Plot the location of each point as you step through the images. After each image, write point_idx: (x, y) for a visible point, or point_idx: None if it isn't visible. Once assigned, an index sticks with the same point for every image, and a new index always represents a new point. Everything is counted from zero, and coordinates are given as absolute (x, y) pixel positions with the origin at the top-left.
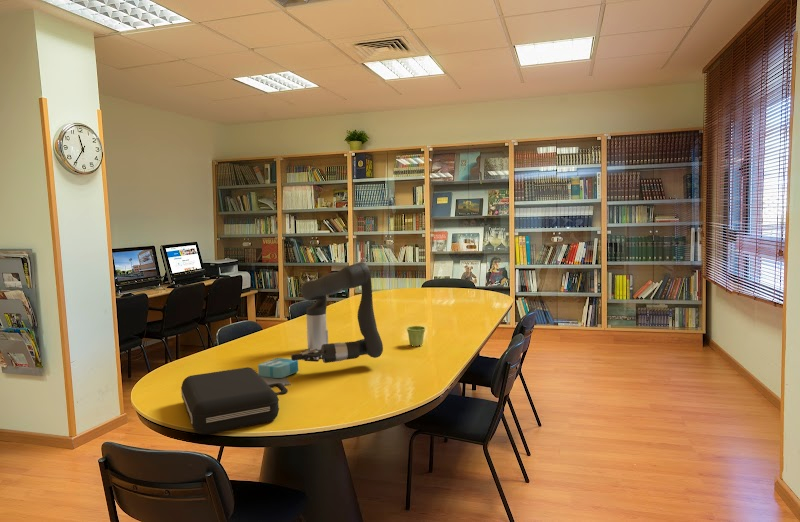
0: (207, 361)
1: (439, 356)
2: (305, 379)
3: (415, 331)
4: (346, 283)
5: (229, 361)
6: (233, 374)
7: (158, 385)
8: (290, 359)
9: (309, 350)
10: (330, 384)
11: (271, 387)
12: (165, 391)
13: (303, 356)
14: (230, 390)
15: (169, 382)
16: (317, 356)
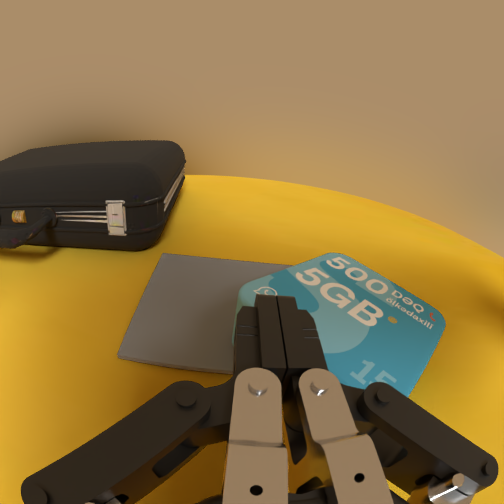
0: (456, 247)
1: None
2: None
3: None
4: None
5: (468, 270)
6: (102, 153)
7: (309, 192)
8: (415, 366)
9: (366, 478)
10: None
11: (144, 295)
12: (268, 190)
13: (209, 391)
14: (24, 156)
15: (323, 199)
16: (28, 490)
